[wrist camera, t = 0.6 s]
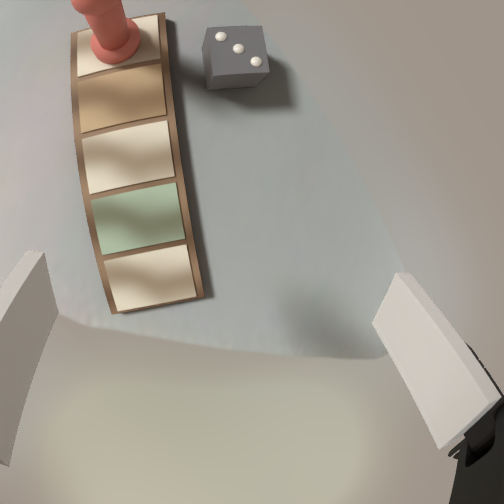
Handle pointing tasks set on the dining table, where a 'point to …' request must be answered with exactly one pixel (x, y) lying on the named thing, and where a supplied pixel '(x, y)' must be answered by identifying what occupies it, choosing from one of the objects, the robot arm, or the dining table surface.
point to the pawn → (109, 30)
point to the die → (234, 57)
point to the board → (133, 172)
